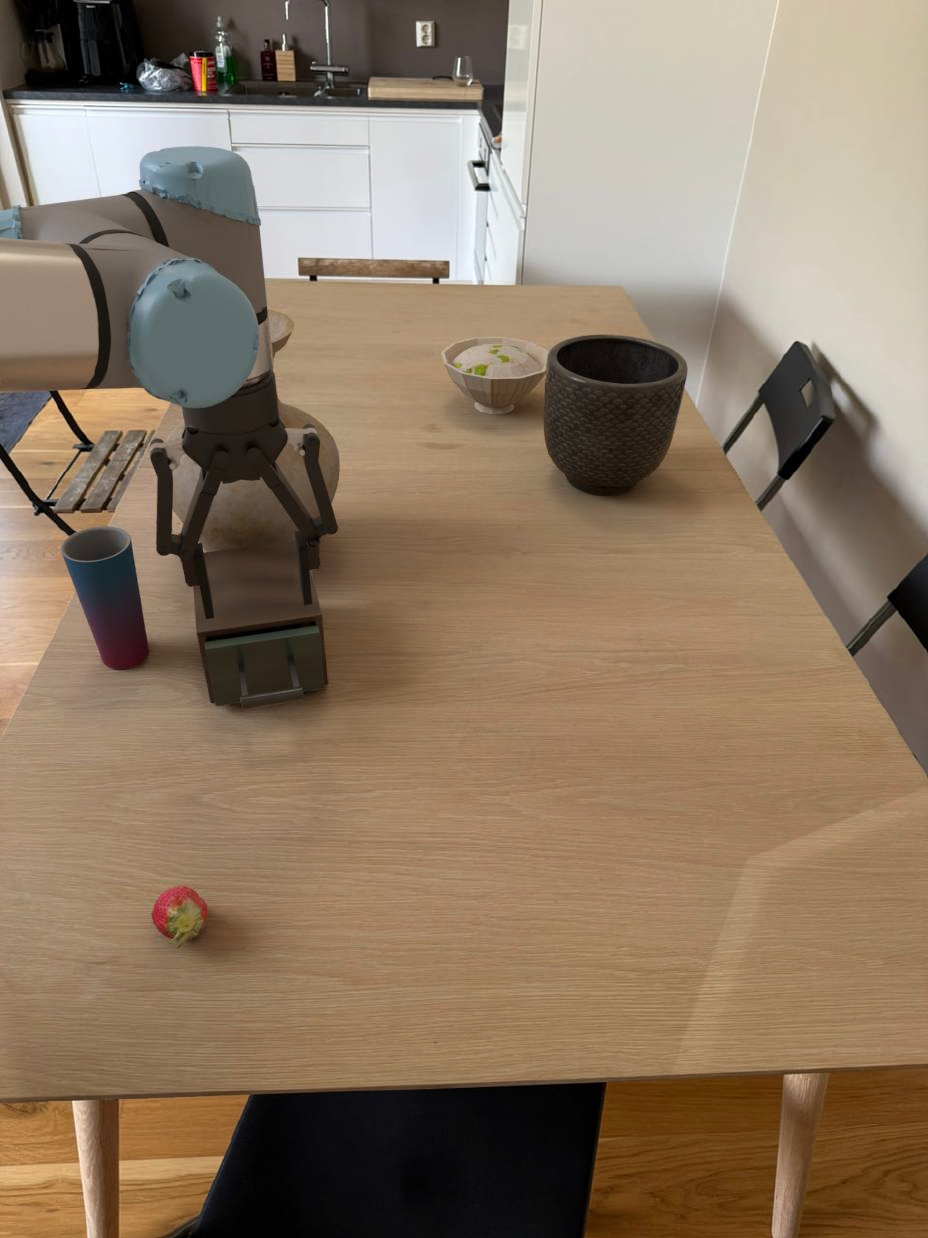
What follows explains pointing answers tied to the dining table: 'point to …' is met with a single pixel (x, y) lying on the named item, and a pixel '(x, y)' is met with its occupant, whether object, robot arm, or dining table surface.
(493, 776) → the dining table surface
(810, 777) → the dining table surface
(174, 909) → the fruit
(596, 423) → the planter
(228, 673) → the drawer
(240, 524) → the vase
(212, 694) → the cabinet
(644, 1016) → the dining table surface
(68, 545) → the cup
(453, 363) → the bowl
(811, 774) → the dining table surface
